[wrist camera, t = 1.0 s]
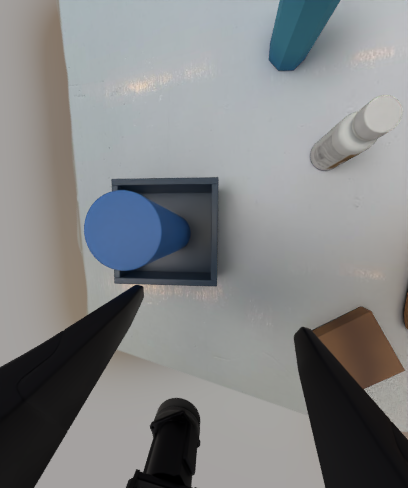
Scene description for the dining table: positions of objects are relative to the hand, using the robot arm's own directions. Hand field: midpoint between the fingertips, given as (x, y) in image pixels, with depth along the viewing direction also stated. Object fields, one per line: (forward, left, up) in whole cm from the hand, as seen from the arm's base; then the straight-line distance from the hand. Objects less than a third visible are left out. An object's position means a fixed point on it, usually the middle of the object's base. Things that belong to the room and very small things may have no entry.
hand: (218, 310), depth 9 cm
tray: (-4, +7, -16) cm, 18 cm away
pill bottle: (+21, +7, -16) cm, 27 cm away
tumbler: (-4, +7, -15) cm, 17 cm away
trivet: (+12, -21, -16) cm, 29 cm away
